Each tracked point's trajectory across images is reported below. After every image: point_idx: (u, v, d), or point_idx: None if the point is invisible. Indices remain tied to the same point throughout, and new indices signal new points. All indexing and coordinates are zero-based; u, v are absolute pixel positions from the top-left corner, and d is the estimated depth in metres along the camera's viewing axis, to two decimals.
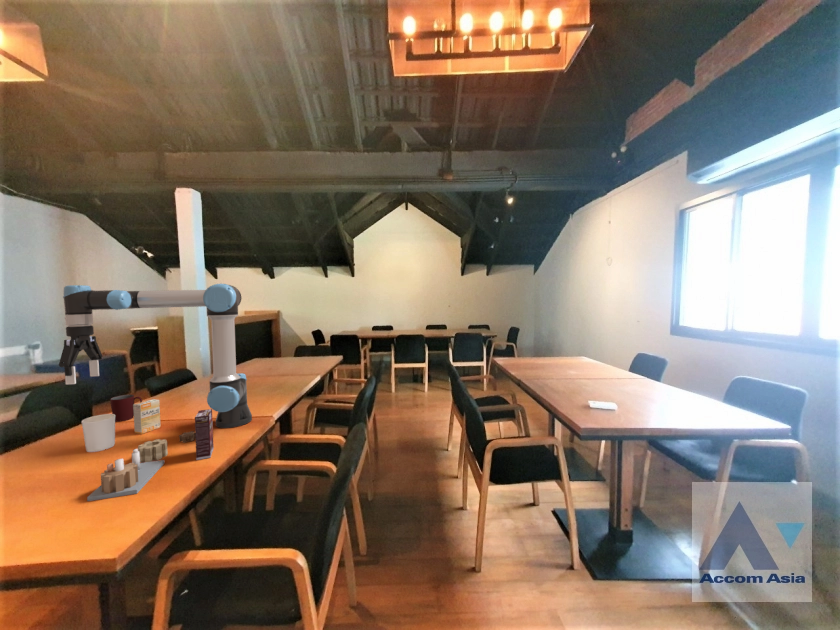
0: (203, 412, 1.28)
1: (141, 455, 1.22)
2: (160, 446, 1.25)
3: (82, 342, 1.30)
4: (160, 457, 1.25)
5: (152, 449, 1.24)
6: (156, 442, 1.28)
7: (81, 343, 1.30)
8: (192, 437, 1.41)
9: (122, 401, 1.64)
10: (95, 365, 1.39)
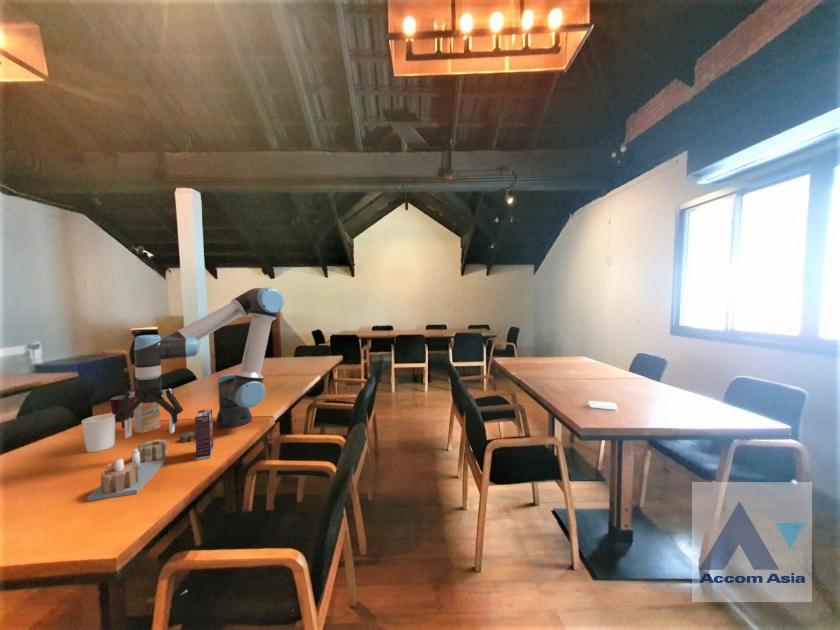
0: (203, 412, 1.28)
1: (141, 455, 1.22)
2: (160, 446, 1.25)
3: (140, 396, 1.23)
4: (160, 457, 1.25)
5: (152, 449, 1.24)
6: (156, 442, 1.28)
7: (139, 397, 1.23)
8: (192, 437, 1.41)
9: (122, 401, 1.64)
10: None
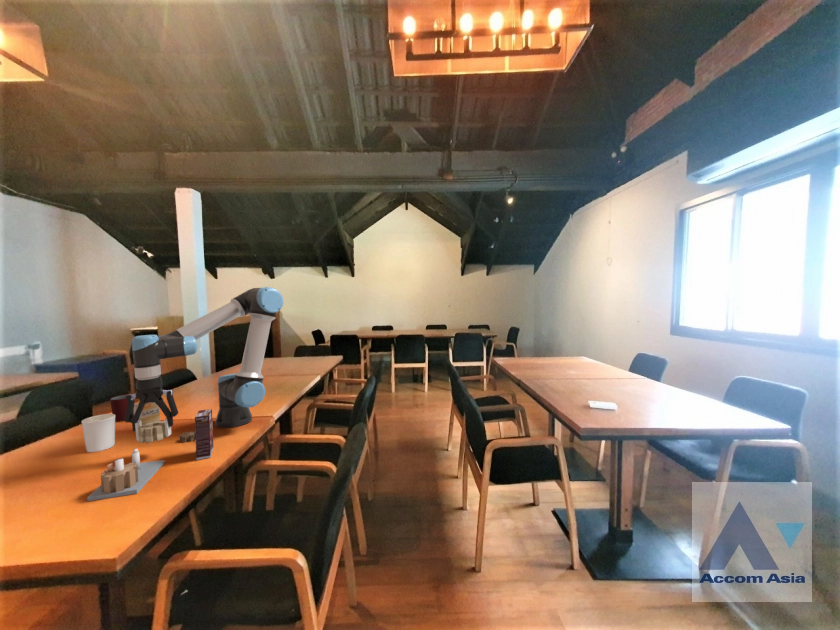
0: (203, 412, 1.28)
1: (142, 436, 1.23)
2: (161, 427, 1.25)
3: (141, 396, 1.23)
4: (161, 438, 1.25)
5: (153, 430, 1.24)
6: (157, 423, 1.28)
7: None
8: (192, 437, 1.41)
9: (122, 401, 1.64)
10: None
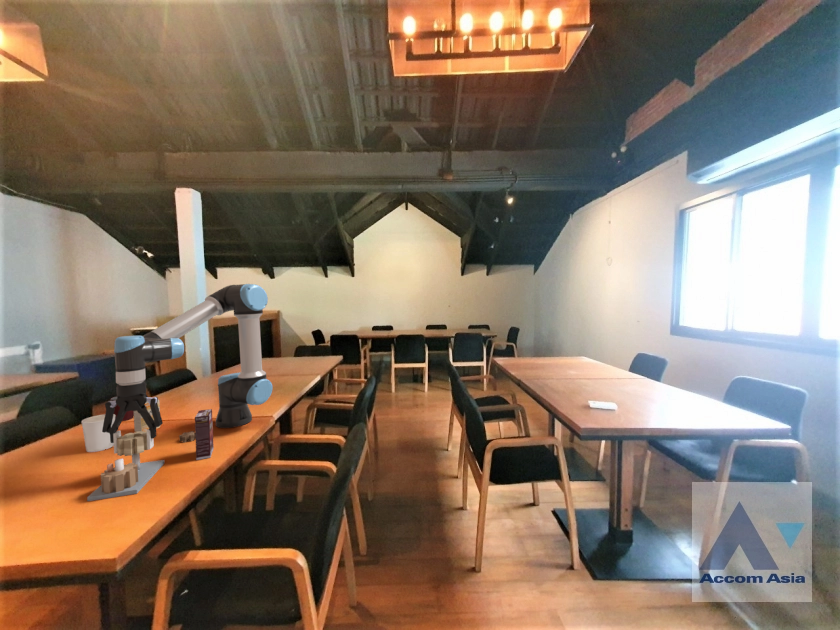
0: (203, 412, 1.28)
1: (120, 448, 1.10)
2: (142, 438, 1.12)
3: (122, 404, 1.11)
4: (142, 450, 1.12)
5: (133, 441, 1.11)
6: (138, 434, 1.16)
7: (122, 405, 1.11)
8: (192, 437, 1.41)
9: None
10: None
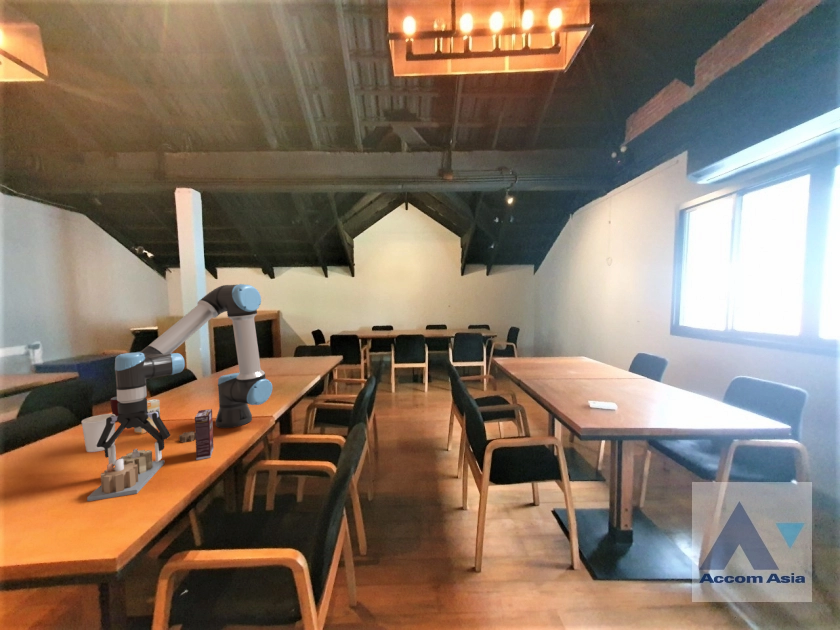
0: (203, 412, 1.28)
1: None
2: (144, 458, 1.13)
3: (123, 421, 1.11)
4: (144, 470, 1.13)
5: (135, 461, 1.12)
6: (140, 453, 1.16)
7: (122, 422, 1.12)
8: (192, 437, 1.41)
9: None
10: None
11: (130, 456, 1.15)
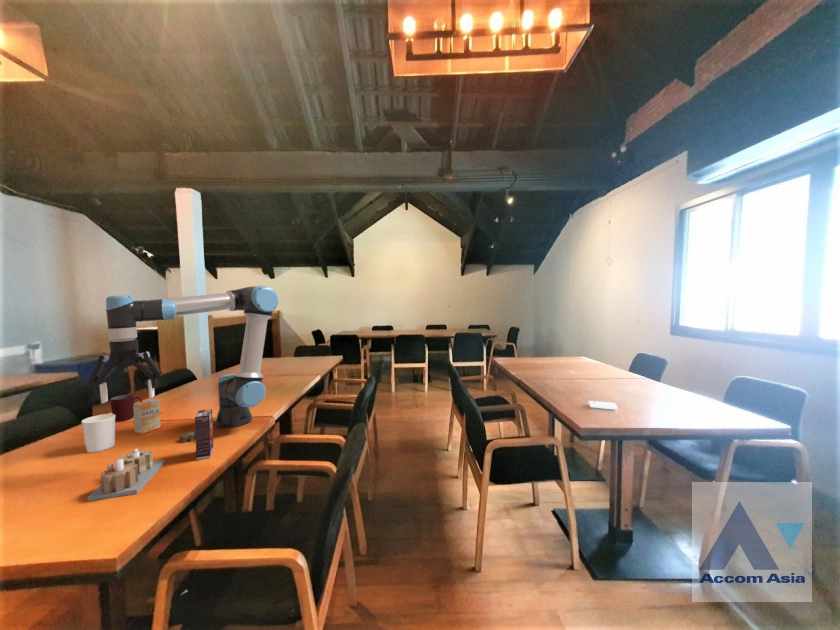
0: (203, 412, 1.28)
1: None
2: (144, 458, 1.13)
3: (115, 359, 1.17)
4: (144, 470, 1.13)
5: (135, 461, 1.12)
6: (140, 453, 1.16)
7: (115, 360, 1.17)
8: (192, 437, 1.41)
9: (122, 401, 1.64)
10: None
11: (130, 456, 1.15)
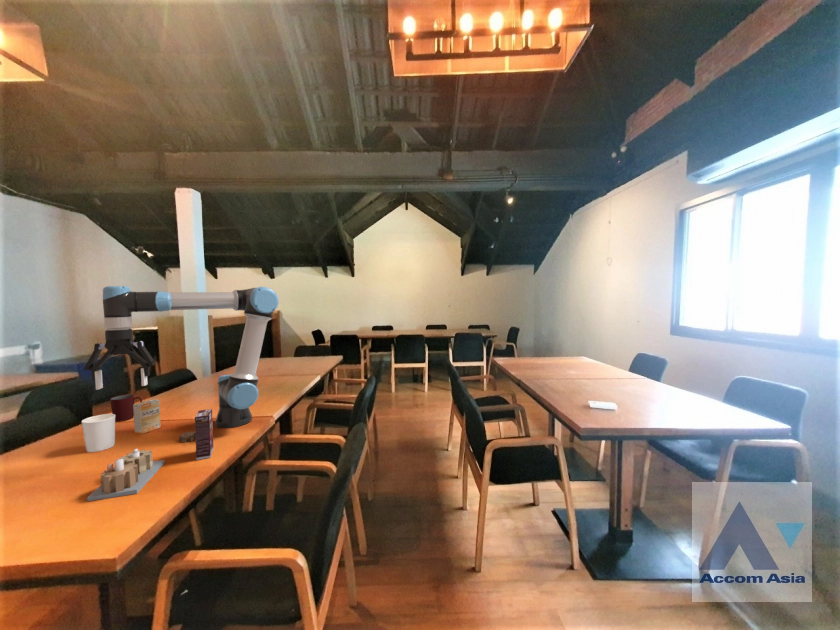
0: (203, 412, 1.28)
1: None
2: (144, 458, 1.13)
3: None
4: (144, 470, 1.13)
5: (135, 461, 1.12)
6: (140, 453, 1.16)
7: None
8: (192, 437, 1.41)
9: (122, 401, 1.64)
10: None
11: (130, 456, 1.15)
